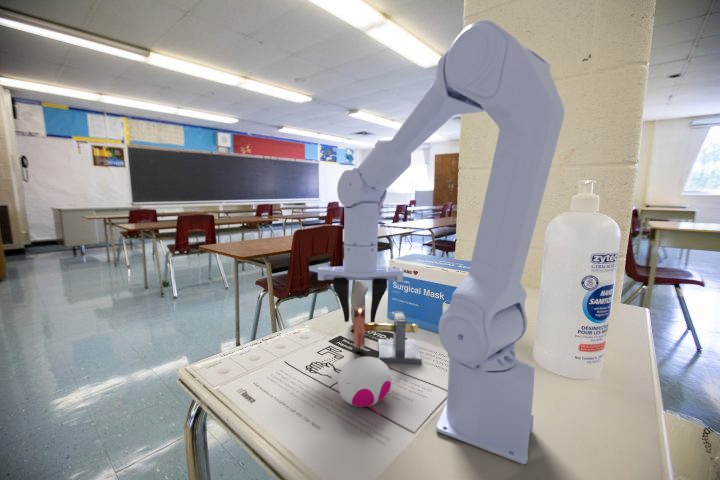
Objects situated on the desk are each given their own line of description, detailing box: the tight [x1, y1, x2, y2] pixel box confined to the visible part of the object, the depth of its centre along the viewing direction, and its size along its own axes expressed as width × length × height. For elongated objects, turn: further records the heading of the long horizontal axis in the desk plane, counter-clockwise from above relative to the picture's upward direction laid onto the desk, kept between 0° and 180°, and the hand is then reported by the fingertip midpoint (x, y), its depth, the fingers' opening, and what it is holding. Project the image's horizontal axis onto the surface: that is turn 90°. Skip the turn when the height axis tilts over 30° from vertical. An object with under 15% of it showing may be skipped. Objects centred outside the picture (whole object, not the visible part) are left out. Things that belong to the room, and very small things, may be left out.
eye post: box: [377, 310, 423, 364], centre depth 54 cm, size 7×7×7 cm
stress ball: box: [337, 356, 393, 418], centre depth 41 cm, size 8×8×7 cm
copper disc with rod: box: [353, 307, 420, 348], centre depth 54 cm, size 11×7×7 cm, turn 88°
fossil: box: [350, 280, 369, 325], centre depth 66 cm, size 6×4×10 cm, turn 168°
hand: (359, 319), depth 54 cm, fingers open, 4 cm apart
